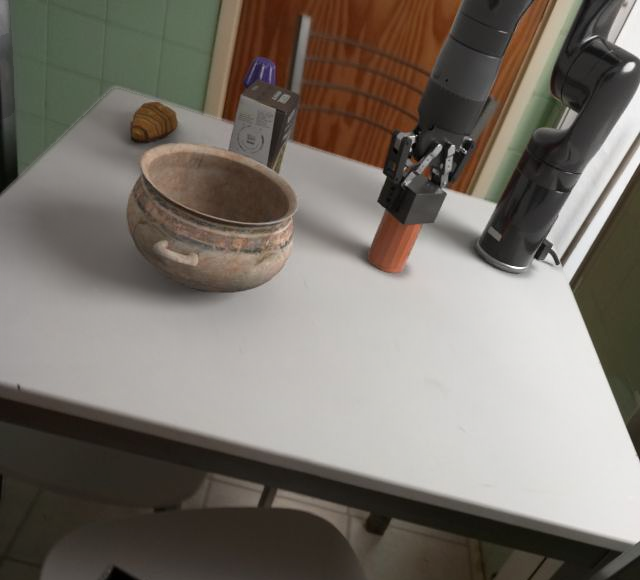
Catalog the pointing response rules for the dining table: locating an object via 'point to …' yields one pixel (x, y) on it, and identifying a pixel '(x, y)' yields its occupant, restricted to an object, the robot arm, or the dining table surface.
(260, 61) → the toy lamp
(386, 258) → the cup
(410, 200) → the block
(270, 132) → the coffee box
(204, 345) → the dining table surface
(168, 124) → the croissant
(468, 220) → the dining table surface
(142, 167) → the cooking pot
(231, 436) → the dining table surface
